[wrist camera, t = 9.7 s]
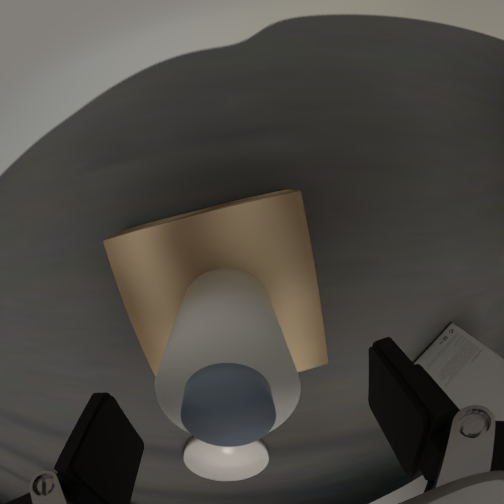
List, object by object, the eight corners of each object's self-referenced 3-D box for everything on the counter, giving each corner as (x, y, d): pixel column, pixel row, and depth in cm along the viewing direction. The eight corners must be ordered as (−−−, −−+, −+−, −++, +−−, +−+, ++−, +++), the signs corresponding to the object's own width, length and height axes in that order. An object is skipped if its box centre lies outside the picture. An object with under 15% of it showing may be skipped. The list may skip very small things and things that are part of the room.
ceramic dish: (257, 422, 25) (259, 430, 24) (273, 466, 27) (275, 473, 26) (171, 434, 25) (170, 442, 23) (200, 476, 27) (200, 484, 26)
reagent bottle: (261, 258, 17) (297, 336, 8) (277, 338, 18) (313, 446, 9) (171, 278, 17) (122, 368, 8) (196, 354, 18) (180, 467, 9)
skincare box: (410, 362, 25) (499, 460, 10) (453, 317, 24) (556, 392, 9) (433, 393, 27) (502, 473, 12) (470, 354, 26) (548, 422, 11)
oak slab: (286, 189, 20) (300, 190, 16) (313, 336, 23) (328, 363, 19) (124, 230, 20) (102, 240, 16) (173, 368, 23) (166, 398, 19)
